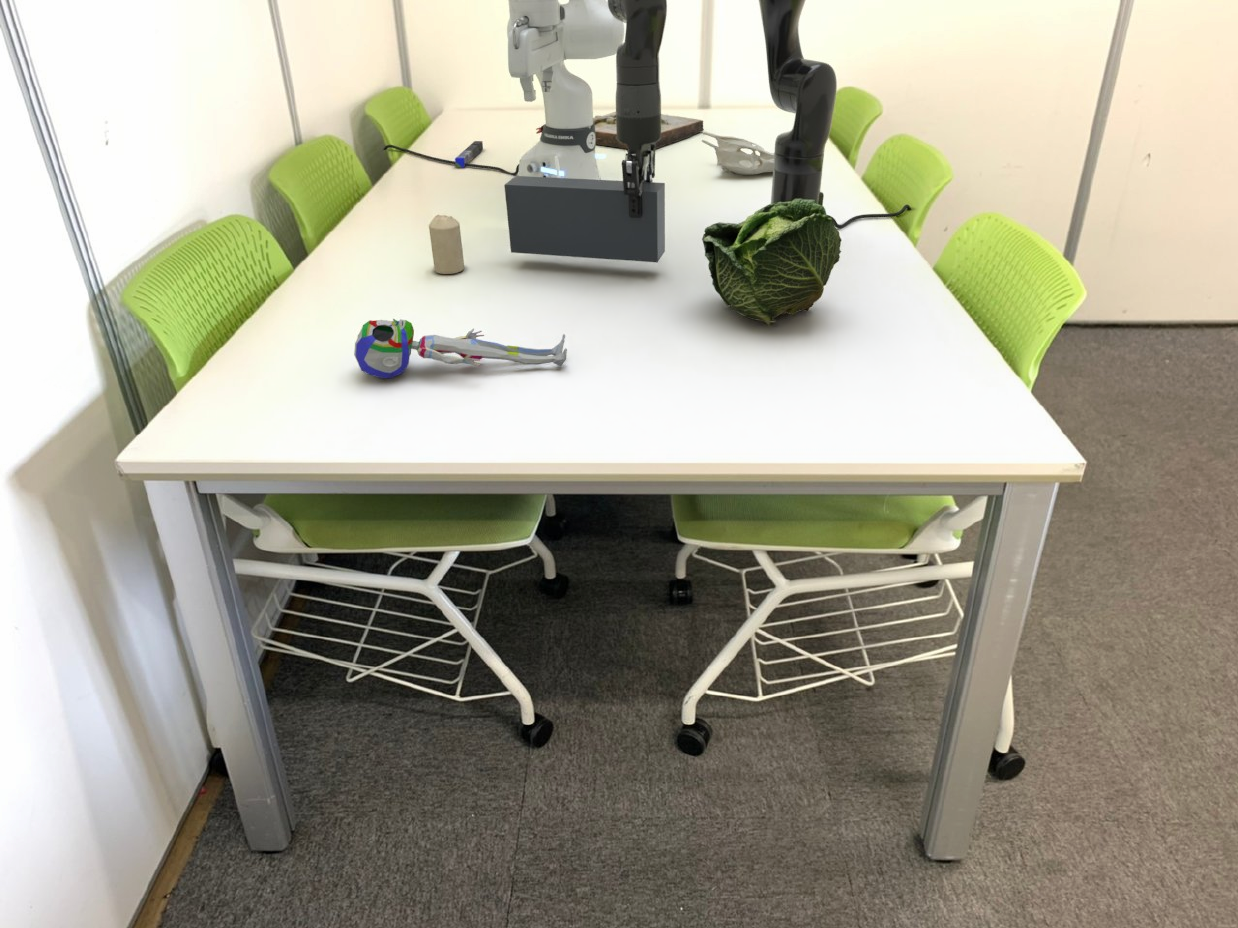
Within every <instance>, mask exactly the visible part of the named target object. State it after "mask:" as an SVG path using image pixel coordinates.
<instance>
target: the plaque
mask: <svg viewBox="0 0 1238 928" xmlns="http://www.w3.org/2000/svg"><path fill="white" fill-rule="evenodd" d="M593 123H594V124H595V133H596V144H595V145H597V146H598V145H599V146H607V147H612V148H620V149H625V150H628V145H627V144H625V143H621V142H619V141H618V140H617V130H616V111H613V112H610V113H608V114H602V115H594V117H593ZM704 130H705V129H704V120H702V119H698V118H693V117H685V116H679V115H669V114H663V113H661V139H660V140H659V141H658V142H655V145H656V148H655V150H656V149H659V148H662V147H663V146H664V147H665V146H667V145H670V144H672V143H676V142H680V141H682V140H684V139H687V138H691V137H692V136H694V135H696V134H698V133H700V132H705V131H704Z"/></svg>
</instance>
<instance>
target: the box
mask: <svg viewBox="0 0 1238 928" xmlns="http://www.w3.org/2000/svg"><path fill="white" fill-rule="evenodd" d="M513 177H514V178H513ZM513 177H512V178H513V179H512V178H511V179H510V180H508V181H507V182H506V183H504V185H503V186H504V195H505V204H506V215H507V225H508V234H509V236H508V237H509V246H510V253H513V254H528V255H530V254H531V255H539V256H541V255H542V256H557V257H570V258H586V259H601V260H613V261H614V260H616V261H628V262H629V261H630V262H643V263H657V264H658V263H659V261H660V259H661V258H662V257H663V255H664V254H665V253H666V212H665V211H666V183H665V182H655V181H654V182H644V183H643V188H642V216H641V217H640V218H631V217H630V216H629V199H628V196H627V195H624V188H623V180H614V179H613V180H609V179H600V180H592V179H570V178H549V177H528V176H517V175H514V176H513ZM631 188H635V184H634V183H633V182H632V187H631Z"/></svg>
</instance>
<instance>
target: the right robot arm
mask: <svg viewBox="0 0 1238 928" xmlns="http://www.w3.org/2000/svg"><path fill="white" fill-rule="evenodd" d="M607 2H608V7H609V10H610V12H611V14H612V15H613V16H614V17H615V18H616V19H617V20H619V21H621V22H623V24H626V25H625V33H624V41H623V42H622V44H621V45H619V47H618V48H617V53H616V54H615V73H616V86H615V87H616V88H615V89H616V90H615V112H616V130H617V140H618V141H619V142H621V143H625V144H627V145H628V149H627V153H625V156H624V159H622V161H621V173H622V181H623V188H624V195H627V196H628V199H629V216H630V217H631V218H640V217H641V216H642V188H643V183H644V182H653V181H654V178H655V176H656V149H655V148H656V145H655V142H658V141H659V140H660V139H661V114H662V91H661V84H660V83H661V82H660V50H661V46H662V44H663V39H664V32H665V28H666V22H667V21H666V20H667V14H668V2H667V0H607ZM758 4H759V10H760V16H761V18H760V19H761V24H762V30H763V35H764V36H763V37H764V42H765V53H766V65H767V76H768V77H767V78H768V86H769V92H770V96H771V99H772V102H773V104H775V106H776V107H777V108H778V109H779V110H782V111H784V112H788V113H791V114H794V115H795V117H794V122H793V126H792V129H791V130H790V131H785V132H782V133H780V134H778V135H777V137H776V138H775V143H774V152H773V153H774V165H773V172H772V179H771V180H772V181H771V193H770V194H771V195H770V204H774V203H778V202H791V201H793V200H794V199H800V198H801V199H802V200H815V203H816V204H819V205H821V206H823V207H824V193H823V192H822V191H821V185H822V178H823V169H824V156H825V147H826V144H827V142H828V139H829V137H830V134H831V130H832V123H833V117H834V111H835V105H836V97H837V91H838V90H837V89H838V85H837V84H838V81H837V75H836V72H835V69H834V68H833V67H832V66H831V65H830V64H829V63H827V62H823V61H819V60H814V59H807V58H805V57H804V55H803V51H802V45H801V41H800V32H799V26H800V18H801V15H802V12H803V9H804V6H805V4H806V0H758ZM632 182H633V183H634V184H635V188H631V187H632ZM906 210H908V211H911V210H912V208H911V206H910V204H905V205H904V206H903V207H901V209H900V210H899V211H896V212H892V213H868V214H867V213H866V214H859V215H855V216H852V217H851V218H849V219H848V220H847V221H845V222H844V223H842V224H838V222H837V220H836V218H834V217H833V216H831V215H829V214H826V215H827V217H828V218H831V219H832V220H833V221H834V226H835V227H836V229H843V228H845V227H847V226H848V225H850V224H851V223H853V222H854V221H856V220H861V219H873V218H876V219H877V218H894V217H898V216H900V215H902V214H903V213H904V212H905V211H906Z"/></svg>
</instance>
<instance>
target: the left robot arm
mask: <svg viewBox="0 0 1238 928" xmlns="http://www.w3.org/2000/svg"><path fill="white" fill-rule="evenodd" d="M507 2H508V14H509V19H508V21H507V25H506V37H507V66H508V67H507V68H508V73H509V76H510V77H511V78H514V79H515V78H516V79H519V84H520V86H521V88H522V91H523V99H524V101H525V102H529V103H532V102H534V101H535V100H536V99H537V96H536V95H537V92H536V89H535V86H534V83H533V82H534V76H535V77H536V78H537V80H538V83H539V86H540V89H541V93H542V99H543V107H544V118H545V119H544V120H545V121H544V122H545V123H544V124H543V125H541V126H540V127H537V128H535V130H536V132H535V133H536V134H540V138H539V141H538V142H536V143H535V144H534V145H533V146H532V147H530V149H529V150H527V151H526V152H525V153H524V154H523V155H522V156H521V157H520V158H519V163H518V164H517V165H516V166H515V167H516V168H515V171H514V172H510V171H507V170H506V169H503V168H502V167H498V166H492V165H485V164H484V165H483V164H475V163H465V167H470V168H476V169H477V168H479V169H487V170H494V171H499V172H501V173H503V174H506V175H511V176H513V177H512V178H511V179H513V178H514V177H515V176H528V177H549V178H570V179H592V180H601V178H600V177H601V176H600V173H599V168H598V163H597V159H600V160H601V159H602V160H604V159H606V154H600V153H596V145H597V144H596V133H595V124H594V123H593V118H594V102H593V101H594V100H593V99H594V98H593V90H592V88H591V86H590V85H589V83H588V82H587V81H586V80H584V79H583V78H581V77H579V76H578V75H575V74H573V73H572V72H571V71H569V69H567V67H566V65H565V61H566V60H599V59H603V58H607V57H611V56H616V53H617V48H618V47H619V45H621V44H622V43H624V40H625V25H624V24H625V23H624V22H621V21H619V20H617V19H616V18H615V17H614V16H613V15H612V14H611V12H610V10H609V7H608V0H568V1H567V3H560V1H559V0H508V1H507ZM388 149H395V150H398V151H401V152H405V153H409V154H411V155H414V156H417V157H421V158H424V159H428V160H432V161H436V162H440V163H445V164H450V165H455V160H449V159H443V158H438V157H436V156H430V155H426V154H424V153H420V152H416V151H413V150H410V149H407V148H404V147H403V148H402V147H401V146H396V145H393V144H387V145H385V146H384V147H383V149H382V150H383V151H387V150H388Z"/></svg>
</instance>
